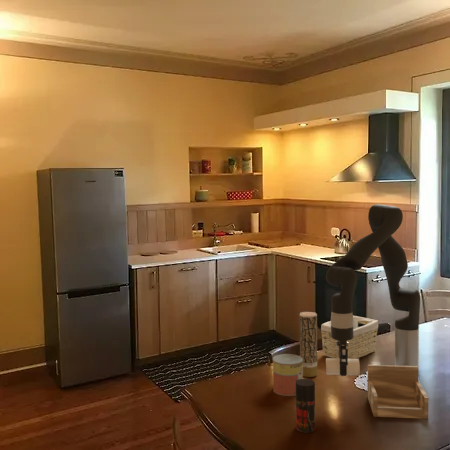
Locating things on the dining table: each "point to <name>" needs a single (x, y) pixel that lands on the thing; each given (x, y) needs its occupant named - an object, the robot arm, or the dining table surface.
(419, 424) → the dining table surface
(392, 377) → the holder
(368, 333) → the storage basket
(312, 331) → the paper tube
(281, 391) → the canned food
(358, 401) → the dining table surface
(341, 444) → the dining table surface
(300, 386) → the deodorant
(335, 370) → the white cylinder
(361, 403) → the dining table surface
